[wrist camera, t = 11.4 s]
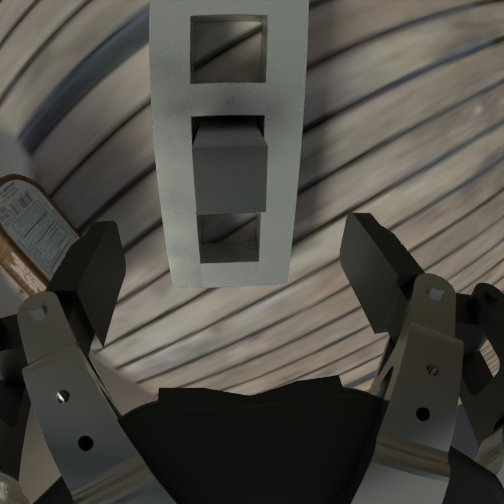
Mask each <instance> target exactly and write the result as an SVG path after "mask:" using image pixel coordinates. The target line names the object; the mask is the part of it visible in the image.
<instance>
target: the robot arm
mask: <svg viewBox="0 0 504 504" xmlns="http://www.w3.org/2000/svg"><path fill="white" fill-rule="evenodd" d="M340 263H341V266H342V269H343V270H344V272H345V274H346V276H347V278H348V280H349V282H350V284H351V286H352V288H353V290H354V292H355V294H356V296H357V298H358V300H359V302H360V304H361V306H362V308H363V310H364V312H365V314H366V316H367V318H368V321H369V323H370V325H371V327H372V329H373V331H374V333H375V334H377V333H383V332H388V333H389V335H390V336H389V338H388V340H387V343H386V346H385V349H384V352H383V355H382V358H381V361H380V363H379V366H378V369H377V372H376V375H375V377H374V380H373V383H372V385H371V387H370V389H369V391H368V392H365V391H362V390H358V389H353V388H348V387H342V384H341V381H340V378H339V375H336V376H329V377H323V378H316V379H309V380H301V381H296V382H293V383H290V384H287V385H284V386H281V387H278V388H275V389H272V390H269V391H266V392H263V393H260V394H257V395H251V396H249V395H242V394H235V393H229V392H223V391H218V390H213V389H207V388H159V394H158V400H157V401H154V402H150V403H147V404H144V405H141V406H139V407H137V408H135V409H133V410H131V411H130V412H128V413H126V414H125V415H123V413H122V412H121V410H119V408H118V406H117V404H116V403H115V401H114V400H113V398H112V396H111V395H110V393H109V391H108V390H107V388H106V386H105V385H104V383H103V381H102V380H101V378H100V376H99V374H98V372H97V370H96V368H95V367H94V365H93V363H92V361H91V359H90V358H89V356H88V355H89V351H90V348H103V347H104V343H105V340H106V336H107V332H108V329H109V325H110V322H111V318H112V315H113V311H114V308H115V305H116V302H117V298H118V295H119V292H120V289H121V286H122V283H123V280H124V277H125V271H126V263H125V257H124V253H123V249H122V245H121V241H120V237H119V233H118V228H117V225H116V223H115V222H114V221H103V222H94V223H93V224H92V225H91V227H90V228H89V230H88V231H87V233H86V235H85V236H84V237H81V238H79V239H78V240H77V241H76V242H75V243H74V244H72V245H71V246H70V248H69V250H68V251H67V253H66V255H65V257H64V258H63V260H62V261H61V263H60V266H58V268H57V270H56V272H55V273H54V275H53V277H52V279H51V281H50V282H49V284H48V286H47V288H46V290H45V291H42V292H38V293H35V294H33V295H31V296H30V297H28V298H27V299H26V300H25V301H24V302H23V303H22V304H21V306H20V307H19V309H18V312H17V314H15V315H11V316H8V317H4V318H0V504H30V503H29V500H28V498H27V497H26V496H25V495H24V494H23V491H22V488H21V486H20V484H19V483H18V482H19V472H20V463H21V455H22V448H23V442H24V435H25V430H26V425H27V420H28V415H29V410H30V406H31V404H32V407H33V409H34V412H35V415H36V418H37V421H38V423H39V426H40V429H41V431H42V434H43V436H44V439H45V441H46V443H47V446H48V448H49V450H50V452H51V455H52V457H53V459H54V461H55V463H56V465H57V467H58V470H59V472H60V473H61V477H60V478H59V479H58V480H57V481H56V482H55V483H54V484H53V485H52V486H51V487H50V488H49V489H48V490H46V492H44V493H43V494H42V495H41V496H40V497H39V498H38V499H37V500H36V501H35V502H34V503H33V504H504V295H503V293H502V292H501V291H500V290H499V289H497V288H496V287H494V286H493V285H490V284H487V283H479V284H477V285H476V286H475V288H474V290H473V292H472V294H471V295H466V294H459V293H455V290H454V288H453V287H452V285H451V284H450V283H449V282H448V281H446V280H445V279H444V278H442V277H440V276H438V275H435V274H430V273H425V272H424V271H423V270H422V268H421V267H420V266H419V265H418V263H417V262H416V261H415V259H414V258H413V257H412V256H411V254H410V253H409V252H407V249H406V248H405V247H404V246H403V244H401V242H400V241H399V239H398V238H397V237H396V236H395V235H394V234H393V233H392V232H390V231H389V230H387V229H386V228H384V227H383V226H381V225H380V224H379V223H378V222H377V220H376V219H375V218H374V217H373V216H372V215H371V214H370V213H349V214H348V216H347V219H346V224H345V229H344V234H343V238H342V243H341V248H340ZM487 339H488V340H489V342H490V343H491V345H492V347H493V349H494V350H495V352H496V354H497V356H498V358H499V361H500V368H499V371H498V373H497V374H496V376H495V377H494V378H493V376H492V374H491V372H490V370H489V368H488V366H487V364H486V362H485V360H484V358H483V356H482V354H481V353H480V351H479V350H480V349H481V347H482V346H483V345H484V343H485V342H486V340H487ZM459 397H460V399H461V401H462V404H463V406H464V409H465V411H466V414H467V416H468V419H469V421H470V424H471V427H472V429H473V432H474V435H475V437H476V440H477V443H478V446H479V456H477V457H476V458H475V459H474V460H472V459H471V458H469V457H468V456H466V455H464V454H463V453H461V452H460V451H458V450H457V449H455V448H453V447H452V446H451V445H450V443H451V439H452V434H453V429H454V424H455V419H456V413H457V407H458V400H459Z"/></svg>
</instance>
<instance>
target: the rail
mask: <svg viewBox="0 0 504 504" xmlns="http://www.w3.org/2000/svg"><path fill="white" fill-rule="evenodd" d="M308 19H309V0H150V20H149V57H150V90H151V109H152V125H153V138H154V150H155V160H156V170H157V180H158V189H159V197H160V205H161V213H162V220H163V227H164V234H165V241H166V247H167V254H168V260H169V266H170V272H171V277H172V283H173V288H206V287H236V286H260V285H282V284H287V282H288V273H289V265H290V256H291V248H292V239H293V229H294V220H295V210H296V200H297V189H298V179H299V167H300V156H301V143H302V130H303V116H304V101H305V85H306V67H307V46H308ZM208 21H258V22H262V45H261V80H260V81H208V82H194V22H208ZM213 115H259V131H260V132H261V134H262V136H263V138H264V140H265V141H266V143H267V145H268V160H267V193H266V212H257V213H256V239H255V242H234V243H203V244H202V237H201V224H200V215H197V211H196V200H195V187H194V174H193V160H192V146H193V143H194V141H195V138H196V130H195V116H213Z"/></svg>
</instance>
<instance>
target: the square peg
mask: <svg viewBox="0 0 504 504" xmlns="http://www.w3.org/2000/svg"><path fill="white" fill-rule="evenodd" d="M192 160H193V174H194V187H195V200H196V211H197V215H207V214H229V213H257V212H266V193H267V160H268V145H267V143H266V141H265V140H264V138H263V136H262V134H261V132H260V131H259V129H258V127H257V125H256V123H255V122H254V120H253V118H252V116H226V117H203V119H202V122H201V124H200V127H199V130H198V132H197V135H196V138H195V141H194V143H193V146H192Z"/></svg>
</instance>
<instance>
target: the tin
mask: <svg viewBox="0 0 504 504" xmlns="http://www.w3.org/2000/svg"><path fill="white" fill-rule="evenodd" d="M79 238H81V235H80V234H79V233H78V232H77V231H76V230H75V228H74V227H73V226H72V225H71V224H70V222H69V221H68V220H67V219H66V218H65V216H64V215H63V214H62V213H61V211H60V210H59V209H58V208H57V206H56V205H55V204H54V203H53V201H52V200H51V199H50V198H49V196H48V195H47V194H46V193H45V191H44V190H43V189H42V188H41V187H40V186H39V185H38V184H36V183H35V182H34V181H32V180H31V179H29V178H27V177H25V176H21V175H17V174H10V175H6V176H4V177H1V178H0V266H1V267H2V268H3V270H4V271H5V272H6V273H7V274H8V275H9V276H10V277H11V278H12V279H13V280H14V282H15V283H16V284H17V285H18V286H19V287H20V288H21V289H22V290H23V291H24V292H25V293H26V294H27V295H28V296H29V297H30V296H31V295H33V294H35V293H38V292H42V291H45V290H46V288H47V286H48V284H49V282H50V281H51V279H52V277H53V275H54V273H55V272H56V270H57V268H58V266H60V263H61V261H62V260H63V258H64V257H65V255H66V253H67V251H68V250H69V248H70V246H71V245H72V244H74V243H75V242H76V241H77V240H78V239H79Z"/></svg>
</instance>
